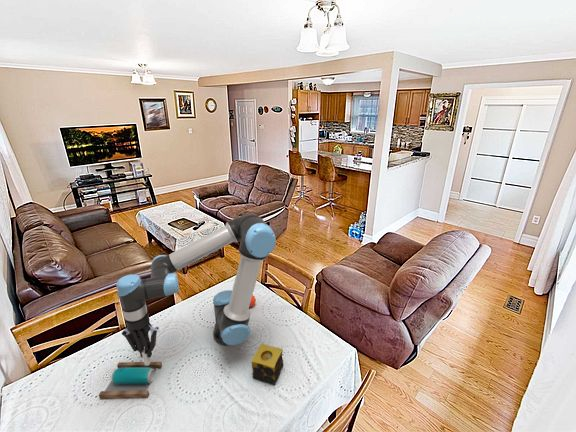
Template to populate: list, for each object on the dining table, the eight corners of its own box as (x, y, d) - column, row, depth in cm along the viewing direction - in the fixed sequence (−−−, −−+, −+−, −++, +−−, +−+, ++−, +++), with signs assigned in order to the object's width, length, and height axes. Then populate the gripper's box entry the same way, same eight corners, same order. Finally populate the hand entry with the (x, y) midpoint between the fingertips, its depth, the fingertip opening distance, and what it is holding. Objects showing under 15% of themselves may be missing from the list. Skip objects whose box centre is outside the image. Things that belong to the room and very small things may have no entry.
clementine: (256, 310, 155) (255, 299, 152) (243, 311, 154) (242, 301, 151) (255, 300, 162) (255, 290, 159) (243, 302, 161) (242, 291, 158)
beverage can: (156, 365, 117) (120, 365, 117) (149, 370, 112) (111, 370, 112) (155, 380, 116) (118, 380, 116) (148, 386, 111) (110, 386, 111)
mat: (155, 369, 120) (155, 368, 120) (144, 394, 110) (144, 393, 110) (117, 370, 120) (117, 369, 120) (102, 395, 110) (102, 394, 110)
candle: (283, 365, 122) (283, 348, 118) (275, 386, 113) (274, 368, 109) (262, 359, 125) (261, 342, 121) (252, 378, 116) (251, 361, 113)
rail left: (149, 394, 110) (148, 390, 109) (147, 398, 108) (146, 393, 108) (102, 395, 109) (100, 391, 109) (100, 399, 108) (98, 394, 107)
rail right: (162, 365, 122) (161, 361, 121) (160, 368, 121) (159, 364, 120) (120, 366, 122) (118, 362, 121) (118, 369, 120) (116, 365, 119)
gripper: (158, 307, 106) (168, 354, 115) (123, 308, 106) (136, 354, 115) (150, 321, 99) (161, 370, 108) (112, 322, 99) (126, 371, 108)
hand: (148, 362), depth 111 cm, fingers closed
